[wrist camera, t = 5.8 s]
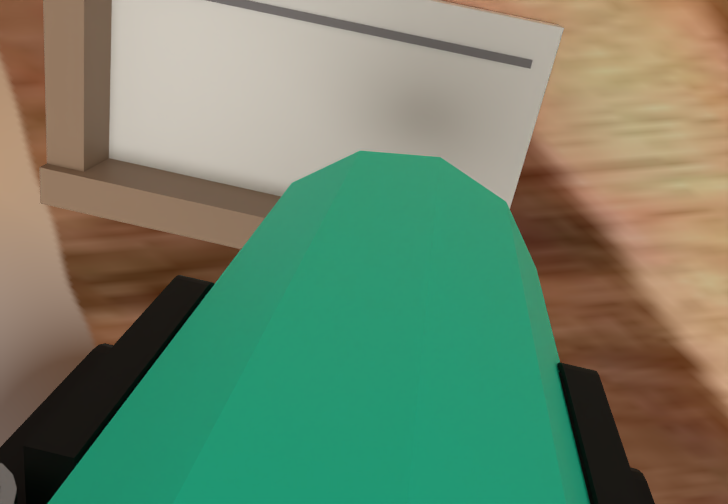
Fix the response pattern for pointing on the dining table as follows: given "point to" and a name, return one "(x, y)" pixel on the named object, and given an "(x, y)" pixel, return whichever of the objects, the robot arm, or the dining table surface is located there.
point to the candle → (355, 360)
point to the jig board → (275, 100)
